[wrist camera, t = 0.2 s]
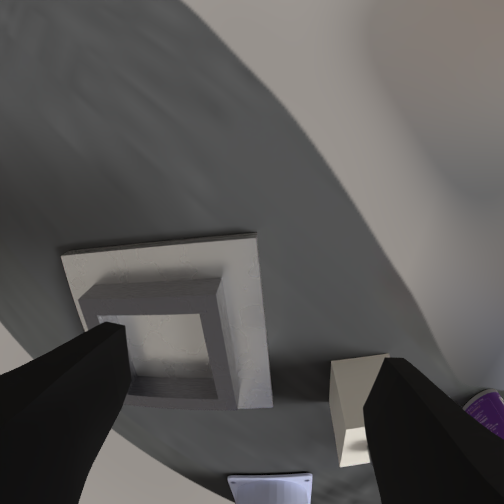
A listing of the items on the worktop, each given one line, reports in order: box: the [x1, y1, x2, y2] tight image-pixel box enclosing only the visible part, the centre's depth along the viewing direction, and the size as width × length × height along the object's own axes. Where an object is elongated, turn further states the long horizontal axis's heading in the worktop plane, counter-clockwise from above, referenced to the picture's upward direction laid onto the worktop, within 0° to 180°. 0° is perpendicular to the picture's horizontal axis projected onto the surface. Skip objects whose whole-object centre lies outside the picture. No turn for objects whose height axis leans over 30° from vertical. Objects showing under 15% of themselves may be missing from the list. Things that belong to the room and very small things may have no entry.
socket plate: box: [61, 232, 273, 410], centre depth 18 cm, size 12×12×3 cm
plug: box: [329, 353, 390, 467], centre depth 17 cm, size 4×4×7 cm
